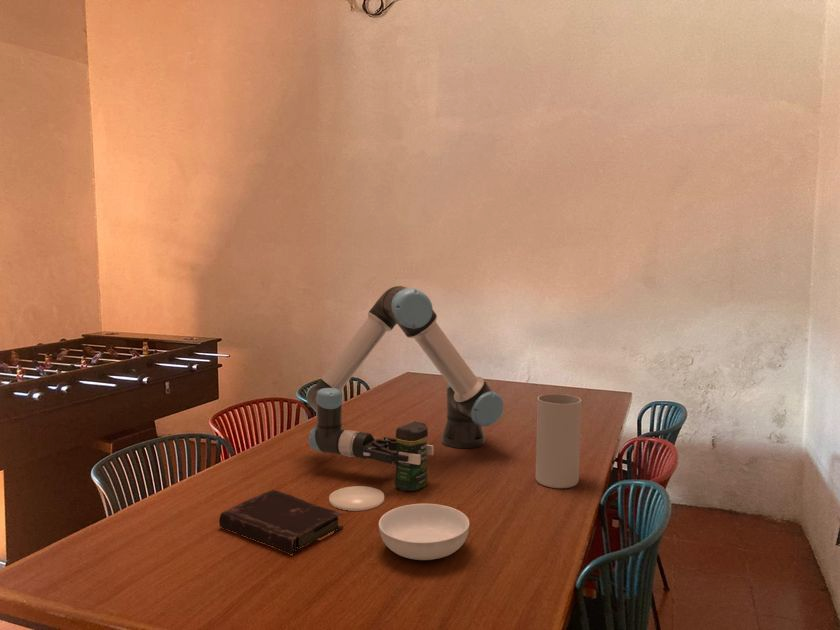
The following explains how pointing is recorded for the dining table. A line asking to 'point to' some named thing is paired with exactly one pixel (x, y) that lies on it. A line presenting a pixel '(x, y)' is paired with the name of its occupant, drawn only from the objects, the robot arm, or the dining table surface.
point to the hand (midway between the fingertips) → (426, 455)
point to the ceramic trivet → (356, 498)
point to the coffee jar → (414, 442)
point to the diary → (280, 520)
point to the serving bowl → (424, 530)
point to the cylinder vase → (558, 440)
